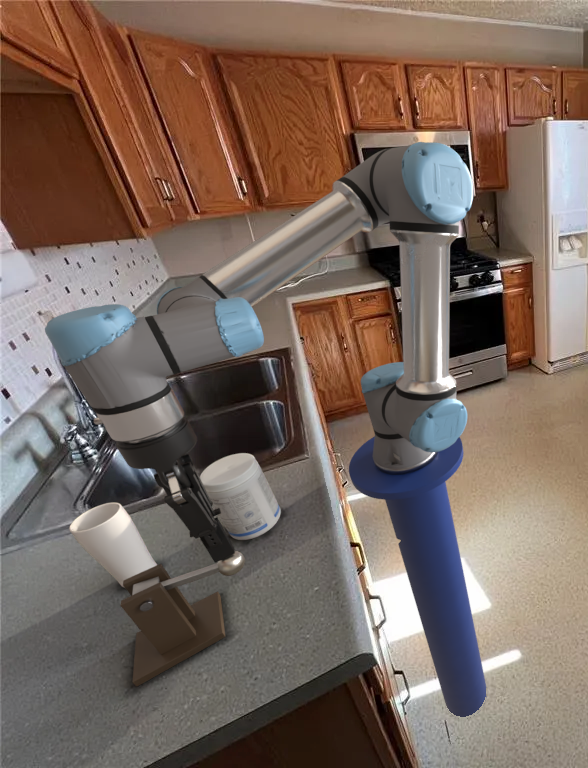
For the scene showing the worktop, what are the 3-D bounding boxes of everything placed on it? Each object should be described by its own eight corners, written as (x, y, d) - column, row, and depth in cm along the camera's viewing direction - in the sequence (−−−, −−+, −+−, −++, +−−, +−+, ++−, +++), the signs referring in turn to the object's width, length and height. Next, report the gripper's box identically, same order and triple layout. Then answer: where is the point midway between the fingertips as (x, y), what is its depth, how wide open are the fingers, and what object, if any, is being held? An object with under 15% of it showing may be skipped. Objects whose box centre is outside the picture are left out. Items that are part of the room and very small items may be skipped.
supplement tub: (254, 504, 90) (227, 450, 83) (292, 508, 88) (267, 453, 81) (218, 540, 81) (184, 483, 74) (259, 545, 79) (228, 487, 72)
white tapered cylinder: (109, 585, 74) (59, 525, 67) (151, 556, 79) (109, 497, 72) (129, 599, 71) (79, 537, 64) (171, 567, 76) (130, 507, 69)
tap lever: (244, 560, 68) (241, 542, 67) (247, 574, 65) (244, 557, 64) (138, 596, 60) (132, 577, 59) (136, 614, 58) (130, 595, 56)
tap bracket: (220, 595, 70) (187, 543, 64) (225, 637, 64) (188, 582, 58) (139, 637, 65) (94, 584, 59) (136, 687, 58) (85, 633, 52)
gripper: (118, 418, 56) (194, 541, 67) (107, 465, 46) (197, 599, 57) (184, 399, 59) (246, 518, 70) (187, 438, 50) (257, 569, 61)
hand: (224, 554), depth 64 cm, fingers closed
